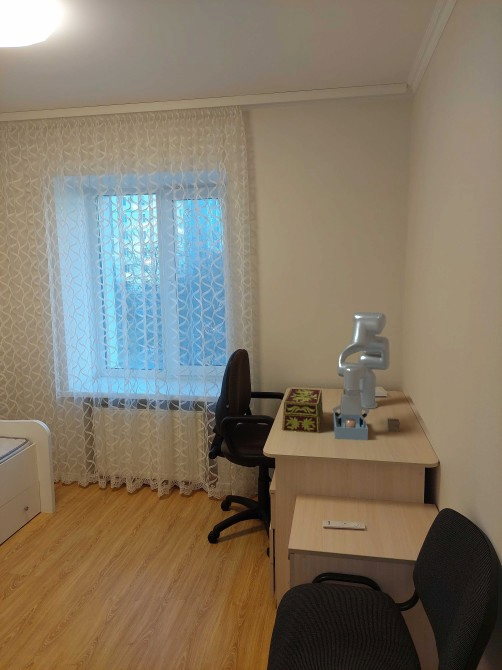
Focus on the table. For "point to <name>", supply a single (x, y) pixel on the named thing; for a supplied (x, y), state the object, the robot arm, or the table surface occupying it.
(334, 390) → the table surface
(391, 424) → the walnut block
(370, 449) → the table surface
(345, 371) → the robot arm
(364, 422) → the tote
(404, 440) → the table surface
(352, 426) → the canister
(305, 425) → the decorative box
